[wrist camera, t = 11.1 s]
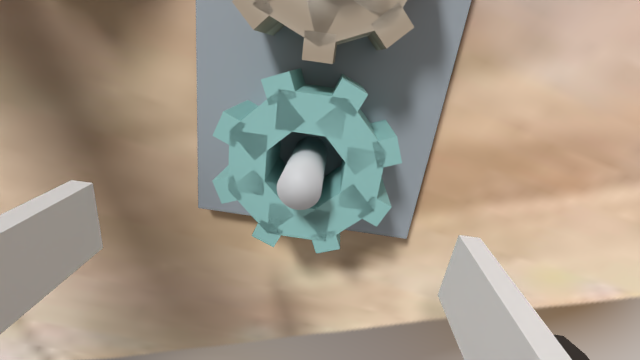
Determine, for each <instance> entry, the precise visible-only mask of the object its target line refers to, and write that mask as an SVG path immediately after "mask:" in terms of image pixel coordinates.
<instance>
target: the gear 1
mask: <svg viewBox="0 0 640 360" xmlns="http://www.w3.org/2000/svg"><path fill="white" fill-rule="evenodd" d="M232 2H233V4H234V5H235V6H236V8H237V9H238V10H239V12H240V13H241V14H242V16H243V17H244V18H245V20H246V21H247V22H248V24H249V25H250V26H251V28H252V29H253V30H255V31H259V32H262V33H265V34H269V35H272V36H274V35H275V34H276V33H277V32H278V31H279V30H280V29H282V28H283V27H284V26H287V27H288V28H290V29H291V30H293V31H295V32H296V33H298V34H299V35H301V36H303V37H304V43H303V53H302V60H307V61H314V62H321V63H328V64H333V63H334V62H335V56H336V48H337V45H339V44H342V43H346V42H349V41H353V40H356V39H360V38H363V37H368V38H369V40H370V41H371V43H372V44H373V46H374V47H375V49H376V50H382V49H387V48H388V47H390V46H391V45H392V44H393V43H395V42H396V41H397V40H399V39H400V38H401V37H402V36H404V35H405V34H406V33H408V32H409V31H410V30H412V29H413V28H414V26H413V24H412V22H411V21H410V19H409V17H408V16H407V14H406V13H405V11H404V9H403V7H404V5H405V3H406V2H407V0H233V1H232Z"/></svg>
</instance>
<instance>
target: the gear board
mask: <svg viewBox="0 0 640 360" xmlns="http://www.w3.org/2000/svg"><path fill="white" fill-rule="evenodd" d="M232 1H233V0H196V51H197V132H198V208H203V209H210V210H216V211H223V212H230V213H236V214H243V215H250V214H249V212H248V211H247V210H246V209H245V208H244V207H243V206H242V205H241V204H240V203H239V201H238V200H237V201H232V202H228V203H224V204H222V203H221V201H220V198H219V196H218V194H217V191H216V189H215V186H214V184H213V181H212V180H213V179H214V178H215V177H217V176H218V175H219V174H220V173H221V172H222V171H223V170H224V169H225V168H226V167H227V166H228V165H229V145H228V144H226V143H225V142H223V141H221V140H219V139H217V138H216V137H214V136H212V135H213V133H214V131H215V129H216V126H217V124H218V122H219V120H220V118H221V115H222V113H223V111H225V110H227V109H230V108H232V107H234V106H236V105H238V104H240V103H242V102H245V101H247V100H249V101H251V102H253V103H254V104H256V105H258V106H259V105H261V104H262V103H263V102H264V101H265V100H267V97H266V94H265V91H264V88H263V85H262V82H261V79H264V78H267V77H271V76H274V75H278V74H281V73H285V72H288V71H292V70H295V69H299V68H301V70H302V74H303V78H304V81H305V84H310V85H317V86H324V87H331V88H334V87H335V86H336V84H337V82H338V80H339V79H340V77H341V75H342V74H343V75H345V76H347V77H348V78H350V79H352V80H353V81H355V82H356V83H358V84H360V85H361V86H363V88H364V89H365V91H366V92H367V94H368V96H367V97H366V99H365V101H364V102H363V104H362V105H361V107H360V109H361V111H362V112H363V113H364V115H365V116H366V118H367V119H368V120H369V122H370V123H374V122H378V121H382V120H386V121H387V122H388V124H389V125H390V127H391V128H392V130H393V131H394V133H395V134H396V135H397V138H398V144H399V149H400V155H401V160H402V163H401V164H396V165H392V166H387V167H384V168H383V172H382V179H383V182H384V185H385V189H386V192H387V195H388V198H389V201H390V204H391V208H390V210H389V211H388V212H387V214H386V215H385V216H384V218H383V219H382V220H381V222H380V223H379V224H378V226H377V227H376V226H374V225H373V224H371V223H369V222H367V221H365V220H364V219H361V220H359V221H358V222H356V223H355V224H353V225H351V226H350V227H348V228H346V229H345V230H351V231H357V232H364V233H371V234H377V235H384V236H391V237H398V238H404V239H407V235H408V231H409V228H410V224H411V220H412V217H413V213H414V209H415V206H416V202H417V198H418V195H419V191H420V187H421V184H422V180H423V176H424V173H425V169H426V165H427V162H428V158H429V154H430V151H431V147H432V143H433V140H434V136H435V132H436V129H437V125H438V121H439V118H440V114H441V110H442V107H443V103H444V99H445V96H446V92H447V88H448V85H449V81H450V77H451V74H452V70H453V66H454V63H455V59H456V55H457V52H458V48H459V44H460V41H461V37H462V33H463V30H464V26H465V22H466V18H467V15H468V11H469V7H470V4H471V0H407V2H406V3H405V5H404V7H403V9H404V11H405V13H406V14H407V16H408V17H409V19H410V21H411V22H412V24H413V26H414V28H413V29H412V30H410V31H409V32H408V33H406V34H405V35H404V36H402V37H401V38H400V39H399V40H397V41H396V42H395V43H393V44H392V45H391V46H390V47H388V48H387V49H382V50H376V49H375V47H374V46H373V44H372V43H371V41H370V40H369V38H368V37H363V38H360V39H356V40H353V41H349V42H346V43H342V44H339V45H337V48H336V56H335V62H334V63H333V64H328V63H321V62H314V61H307V60H302V53H303V43H304V37H303V36H301V35H299V34H298V33H296V32H295V31H293V30H291V29H290V28H288V27H287V26H284V27H283V28H282V29H280V30H279V31H278V32H277V33H276V34H275V35H274V36H272V35H269V34H265V33H262V32H259V31H255V30H253V29H252V28H251V26H250V25H249V24H248V22H247V21H246V20H245V18H244V17H243V16H242V14H241V13H240V12H239V10H238V9H237V8H236V6H235V5H234V4H233V2H232ZM280 158H281V159H282V160H283V161H284V163H285V164H286V166H285V168H284V170H283V172H282V174H281V176H280V178H279V180H278V183H277V194H278V196H279V198H280V200H281V201H282V202H283V203H284V204H285V205H286V206H288V207H289V208H292V209H295V210H305V209H308V208H311V207H312V206H314V205H315V204H316V203H317V202H318V201H319V199H320V196H321V192H322V185H323V179H324V177H325V176H327V175H328V174H329V173H331V172H332V171H334V170H335V169H337V168H338V167H340V166H341V161H342V157H341V156H340V155H339V153H338V152H337V151H336V150H335V148H334V147H333V146H332V144H331V143H330V142H329V140H328V139H327V138H326V137H325V136H319V135H312V134H305V133H298V132H291V133H290V134H288V135H287V136H286V137H284V138H283V139H282V140H281V148H280ZM250 216H251V215H250Z"/></svg>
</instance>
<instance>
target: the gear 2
mask: <svg viewBox="0 0 640 360" xmlns="http://www.w3.org/2000/svg"><path fill="white" fill-rule="evenodd" d="M261 82H262V85H263V88H264V91H265V94H266V97H267V100H265V101H264V102H263V103H262V104H261V105H259V106H258V105H256V104H254V103H253V102H251V101H249V100H247V101H245V102H242V103H240V104H238V105H236V106H234V107H232V108H230V109H227V110H225V111H223V113H222V115H221V118H220V120H219V122H218V124H217V126H216V129H215V131H214V133H213V135H212V136H214V137H216V138H217V139H219V140H221V141H223V142H225V143H226V144H228V145H229V165H228V166H227V167H226V168H225V169H224V170H223V171H222V172H221V173H220V174H219V175H218V176H217V177H215V178H214V179H213V180H212V181H213V184H214V186H215V189H216V191H217V194H218V196H219V198H220V201H221V203H222V204H224V203H228V202H232V201H237V200H238V201H239V203H240V204H241V205H242V206H243V207H244V208H245V209H246V210H247V211H248V212H249V214H250V215H251V216H252V217H253V218H254V219H255V220H256V221H257V222H258V224H257V226H256V228H255V230H254V232H253V234H252V236H253V237H255V238H257V239H259V240H261V241H263V242H264V243H266V244H268V245H270V246H272V247H274V246H275V244H276V242H277V241H278V239H279V238H280V236H281V235H283V236H289V237H296V238H303V239H310V240H312V242H313V245H314V249H315V252H316V253H322V252H327V251H332V250H337V249H340V232H342V231H343V230H345V229H346V228H348V227H350V226H351V225H353V224H355V223H356V222H358V221H359V220H361V219H364V220H365V221H367V222H369V223H371V224H373V225H374V226H376V227H377V226H378V224H379V223H380V222H381V220H382V219H383V218H384V216H385V215H386V214H387V212H388V211H389V210H390V208H391V204H390V201H389V198H388V195H387V192H386V189H385V185H384V182H383V179H382V172H383V168H384V167H387V166H392V165H396V164H401V163H402V160H401V155H400V149H399V144H398V138H397V135H396V134H395V133H394V131H393V130H392V128H391V127H390V125H389V124H388V122H387V121H386V120H382V121H378V122H374V123H370V122H369V120H368V119H367V118H366V116H365V115H364V113H363V112H362V111H361V109H360V107H361V105H362V104H363V102H364V101H365V99H366V97H367V96H368V94H367V92H366V91H365V89H364V88H363V86H361V85H360V84H358V83H356V82H355V81H353V80H352V79H350V78H348V77H347V76H345V75H343V74H342V75H341V77H340V79H339V80H338V82H337V84H336V86H335V87H334V88H331V87H324V86H317V85H310V84H305V81H304V78H303V74H302V70H301V68H299V69H295V70H292V71H288V72H285V73H281V74H278V75H274V76H271V77H267V78H264V79H261ZM291 132H298V133H305V134H312V135H319V136H325V137H326V138H327V139H328V140H329V142H330V143H331V144H332V146H333V147H334V148H335V150H336V151H337V152H338V153H339V155H340V156H341V157H342V161H341V166H340V167H338V168H337V169H335V170H334V171H332V172H331V173H329V174H328V175H327V176H325V177H324V179H323V185H322V192H321V196H320V199H319V201H318V202H317V203H316V204H315V205H314V206H312V207H311V208H308V209H305V210H295V209H292V208H289V207H288V206H286V205H285V204H284V203H283V202H282V201H281V200H280V198H279V196H278V194H277V183H278V180H279V178H280V176H281V174H282V172H283V170H284V168H285V166H286V164H285V163H284V161H283V160H282V159H281V158H280V148H281V140H282V139H283V138H284V137H286V136H287V135H288V134H290V133H291Z"/></svg>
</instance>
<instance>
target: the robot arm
mask: <svg viewBox="0 0 640 360" xmlns="http://www.w3.org/2000/svg"><path fill="white" fill-rule="evenodd" d="M102 248H103V244H102V237H101V231H100V225H99V219H98V212H97V206H96V200H95V193H94V187H93V183H89V182H82V181H75V180H71V181H68V182H66V183H64V184H62V185H60V186H58V187H56V188H54V189H52V190H50V191H48V192H46V193H44V194H42V195H40V196H38V197H36V198H34V199H32V200H30V201H27V202H25V203H23V204H21V205H19V206H17V207H15V208H13V209H11V210H9V211H7V212H5V213H3V214H1V215H0V334H1V333H2V332H4V331H5V330H6V329H7V328H8V327H10V326H11V325H12V324H13V323H14V322H15V321H17V320H18V319H19V318H20V317H21V316H23V315H24V314H25V313H26V312H27V311H29V310H30V309H31V308H32V307H33V306H34V305H36V304H37V303H38V302H39V301H40V300H42V299H43V298H44V297H45V296H46V295H48V294H49V293H50V292H51V291H52V290H53V289H55V288H56V287H57V286H58V285H59V284H61V283H62V282H63V281H64V280H65V279H67V278H68V277H69V276H70V275H71V274H73V273H74V272H75V271H76V270H77V269H78V268H80V267H81V266H82V265H83V264H84V263H86V262H87V261H88V260H89V259H90V258H92V257H93V256H94V255H95V254H96V253H97V252H99V251H100V250H101V249H102ZM438 297H439V300H440V302H441V305H442V307H443V309H444V312H445V314H446V317H447V319H448V322H449V324H450V326H451V329H452V332H453V334H454V337H455V339H456V341H457V344H458V346H459V349H460V351H461V354H462V356H463V359H464V360H589V359H588V357H587V356H586V355H585V354H584V353H583V352H582V351H580V350H579V349H578V348H577V347H576V346H575V345H574V344H572V343H571V342H570V341H569V340H568V339H566V338H565V337H564V336H559V335H553V334H552V333H551V331H550V330H549V329H548V327H547V326H546V325H545V323H544V322H543V321H542V320H541V318H540V317H539V315H538V314H537V313H536V311H535V310H534V309H533V307H532V306H531V305H530V303H529V302H528V301H527V299H526V298H525V297H524V295H523V294H522V293H521V291H520V290H519V289H518V287H517V286H516V285H515V283H514V282H513V281H512V280H511V278H510V277H509V276H508V274H507V273H506V272H505V270H504V269H503V268H502V266H501V265H500V264H499V262H498V261H497V260H496V258H495V257H494V256H493V254H492V253H491V252H490V250H489V249H488V248H487V246H486V245H485V244H484V242H483V241H482V240H481V238H477V237H469V236H462V235H459V236H458V239H457V242H456V244H455V247H454V250H453V253H452V256H451V259H450V262H449V264H448V267H447V270H446V273H445V276H444V279H443V281H442V284H441V287H440V290H439V293H438Z"/></svg>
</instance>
